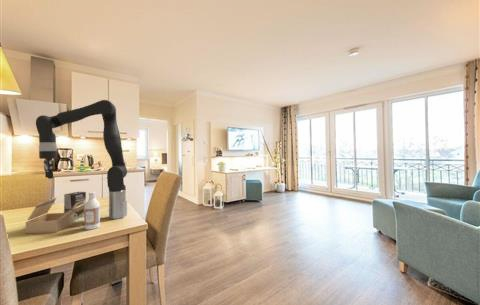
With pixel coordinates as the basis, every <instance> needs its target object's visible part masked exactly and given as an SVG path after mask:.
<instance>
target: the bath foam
mask: <svg viewBox="0 0 480 305" xmlns="http://www.w3.org/2000/svg"><path fill="white" fill-rule="evenodd" d="M83 218H84V221H83V222H84V223H83V224H84V229H85V230H89V231H90V230H95V229H97V228H100V226H101V205H100V202H99V201H98V199H97V198H96V191H90V192H88V200H87V201H86V204H85V208H84V217H83Z"/></svg>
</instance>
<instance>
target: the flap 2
mask: <svg viewBox="0 0 480 305" xmlns="http://www.w3.org/2000/svg"><path fill="white" fill-rule="evenodd" d="M85 204H86V203H84V204H82V205H80V206H78V207H75V208H74V209H72V210H71V211H69V212H68V213H66V214H65V215H63V216H62V217H60V218H59V219H61V218H63V217H65V216H67V215H70V214H72V213H74V212H75V211H77V210H78V209H80V208H81V207H83V206H84V205H85Z"/></svg>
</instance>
